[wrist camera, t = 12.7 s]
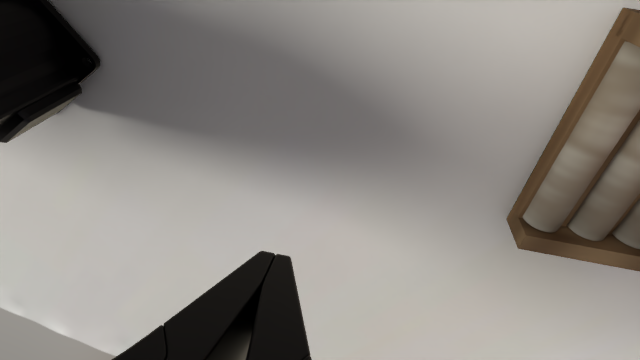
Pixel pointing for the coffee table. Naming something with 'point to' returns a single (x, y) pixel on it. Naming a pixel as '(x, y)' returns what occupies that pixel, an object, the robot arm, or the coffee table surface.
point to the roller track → (591, 165)
